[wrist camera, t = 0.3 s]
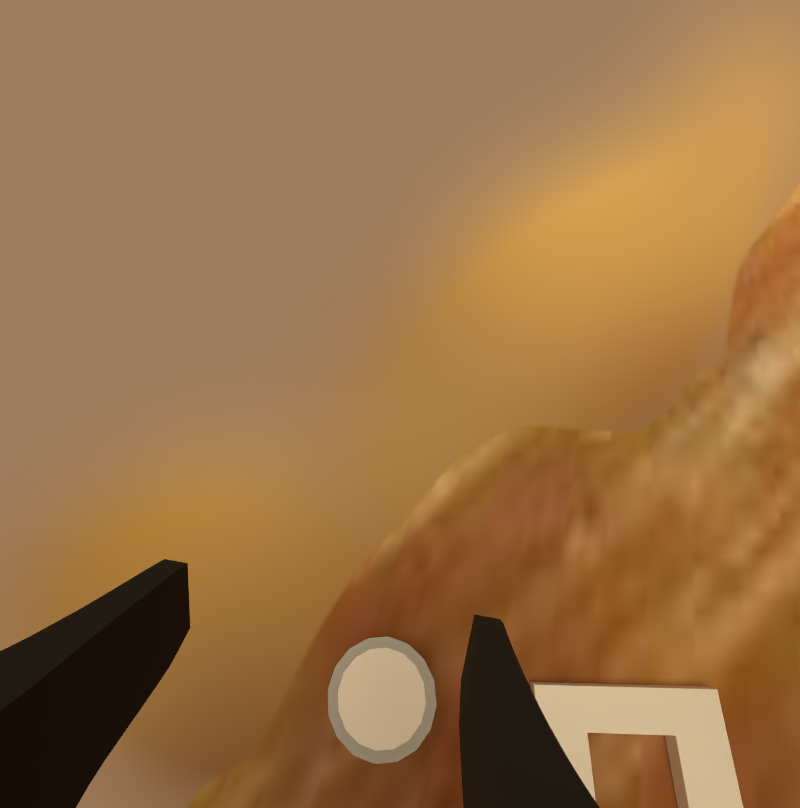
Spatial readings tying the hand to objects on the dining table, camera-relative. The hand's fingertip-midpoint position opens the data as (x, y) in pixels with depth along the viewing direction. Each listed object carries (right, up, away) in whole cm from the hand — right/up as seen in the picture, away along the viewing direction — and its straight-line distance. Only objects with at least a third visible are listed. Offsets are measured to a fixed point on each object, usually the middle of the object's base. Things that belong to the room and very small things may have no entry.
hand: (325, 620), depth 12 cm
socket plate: (+17, -20, +21) cm, 34 cm away
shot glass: (+1, -16, +25) cm, 30 cm away
